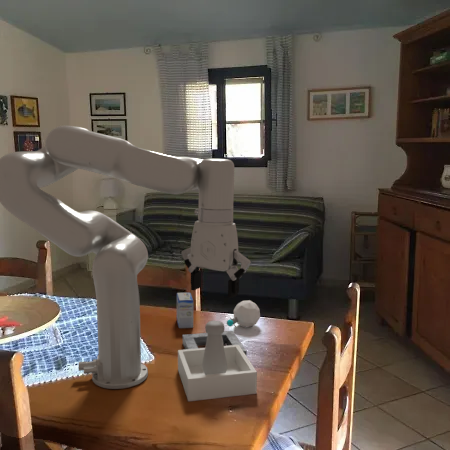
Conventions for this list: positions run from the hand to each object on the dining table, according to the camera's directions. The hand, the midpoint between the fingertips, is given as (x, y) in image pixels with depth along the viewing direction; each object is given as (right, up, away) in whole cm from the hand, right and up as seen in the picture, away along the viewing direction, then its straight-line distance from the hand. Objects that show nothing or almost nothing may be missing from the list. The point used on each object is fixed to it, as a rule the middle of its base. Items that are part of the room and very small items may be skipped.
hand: (214, 292), depth 108 cm
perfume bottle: (+7, -16, +37) cm, 41 cm away
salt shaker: (0, -20, +3) cm, 20 cm away
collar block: (-1, -18, +19) cm, 27 cm away
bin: (0, -21, +3) cm, 21 cm away
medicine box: (-10, -15, +40) cm, 43 cm away
